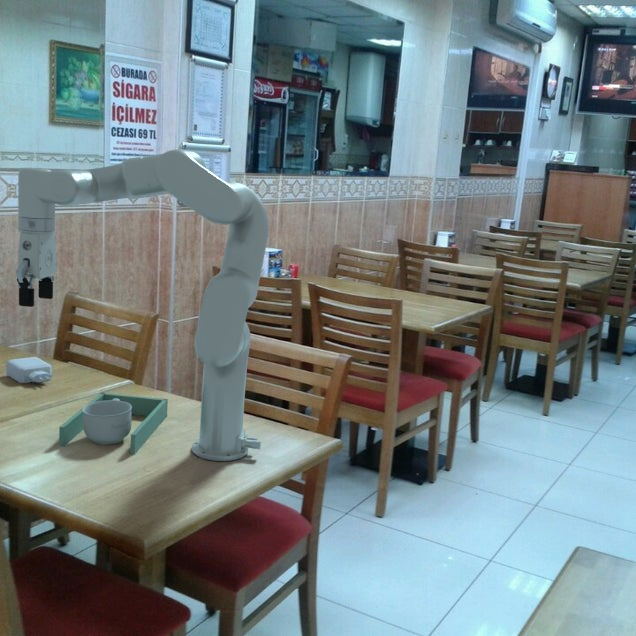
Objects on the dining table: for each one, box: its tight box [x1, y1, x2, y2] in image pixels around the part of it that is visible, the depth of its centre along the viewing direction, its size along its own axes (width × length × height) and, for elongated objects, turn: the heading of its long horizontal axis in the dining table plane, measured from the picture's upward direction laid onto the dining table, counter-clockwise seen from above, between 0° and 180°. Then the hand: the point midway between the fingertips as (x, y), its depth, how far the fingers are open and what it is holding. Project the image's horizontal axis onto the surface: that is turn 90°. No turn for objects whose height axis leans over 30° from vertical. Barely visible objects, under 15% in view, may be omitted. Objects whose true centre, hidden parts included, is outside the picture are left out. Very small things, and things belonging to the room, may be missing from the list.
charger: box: [5, 356, 53, 384], centre depth 208 cm, size 5×9×15 cm
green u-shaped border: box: [58, 392, 169, 455], centre depth 176 cm, size 17×26×4 cm, turn 175°
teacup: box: [81, 398, 132, 446], centre depth 171 cm, size 14×11×8 cm
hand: (36, 302), depth 167 cm, fingers open, 9 cm apart
